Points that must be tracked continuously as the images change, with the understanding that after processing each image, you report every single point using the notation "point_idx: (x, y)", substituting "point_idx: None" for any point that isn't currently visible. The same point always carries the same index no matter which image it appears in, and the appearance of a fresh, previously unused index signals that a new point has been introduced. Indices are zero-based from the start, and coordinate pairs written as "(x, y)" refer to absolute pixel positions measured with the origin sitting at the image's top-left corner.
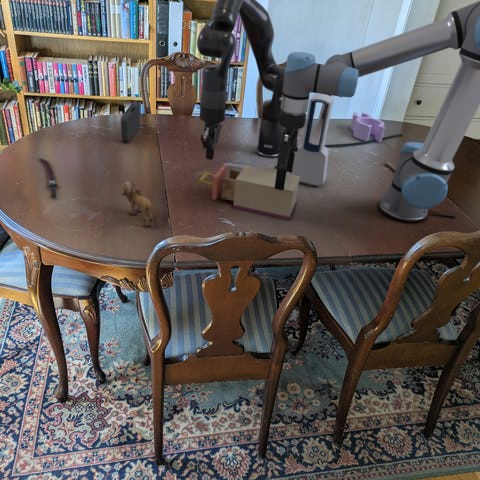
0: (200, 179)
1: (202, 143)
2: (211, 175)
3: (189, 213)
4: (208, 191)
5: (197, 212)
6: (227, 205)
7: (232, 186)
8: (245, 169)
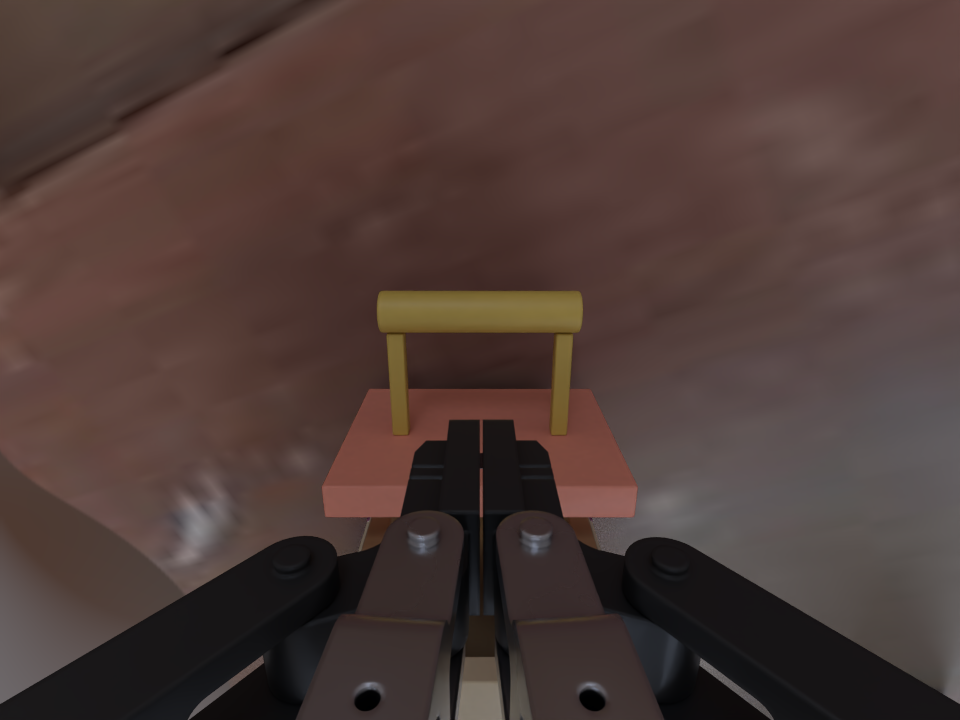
0: (392, 312)
1: (96, 650)
2: (555, 356)
3: (147, 299)
4: None
5: (191, 341)
6: None
7: None
8: None
